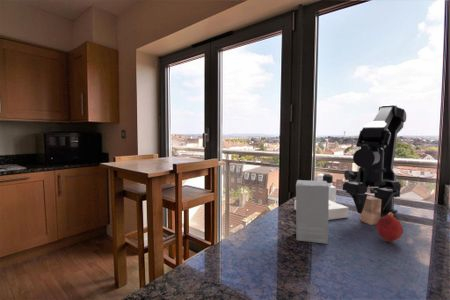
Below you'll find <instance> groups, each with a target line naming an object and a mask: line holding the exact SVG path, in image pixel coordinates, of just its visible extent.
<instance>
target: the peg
mask: <svg viewBox="0 0 450 300" xmlns="http://www.w3.org/2000/svg"><path fill="white" fill-rule="evenodd" d="M381 213H382V212H381V199H378V198H375V197H374V196H370V195H369V196H368V195H367V198H366V201H365V204H364V208H363V211H362V213H361V214H360V213H359V214H360V216H359V221H361V222H362V223H364V224H367V225H369V226H373V225H377V222H378V221H379V219H380V218H381Z"/></svg>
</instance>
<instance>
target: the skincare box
mask: <svg viewBox="0 0 450 300" xmlns="http://www.w3.org/2000/svg"><path fill="white" fill-rule="evenodd" d="M295 200H296V210H295V217H296V218H295V220H296V221H295V222H296V223H295V232H296V233H295V234H296V235H295V236H296V238H295V239H296V241H298V242H300V241H301V242H308V243H319V244H325V245H328V244H329V220H328V211H329V186H328V184H327V181H317V180H305V179H304V180H302V179H297V180H296V183H295Z"/></svg>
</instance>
